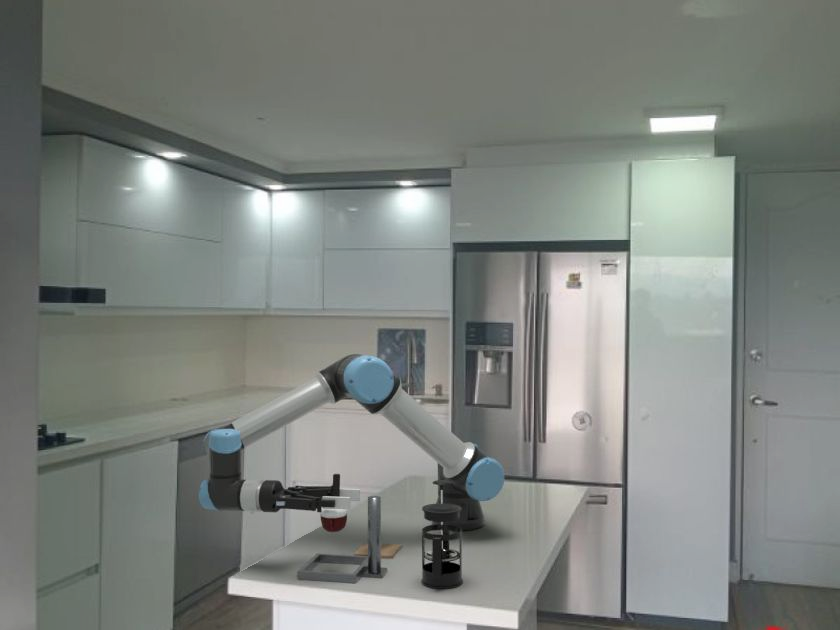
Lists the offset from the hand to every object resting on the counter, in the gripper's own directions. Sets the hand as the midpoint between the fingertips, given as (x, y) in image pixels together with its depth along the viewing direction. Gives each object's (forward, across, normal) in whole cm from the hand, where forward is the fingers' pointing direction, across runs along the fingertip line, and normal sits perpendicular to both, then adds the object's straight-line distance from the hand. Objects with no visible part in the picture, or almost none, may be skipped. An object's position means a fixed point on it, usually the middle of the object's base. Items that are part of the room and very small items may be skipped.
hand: (354, 499), depth 186 cm
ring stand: (-2, 0, -17) cm, 17 cm away
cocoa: (-5, +1, -7) cm, 9 cm away
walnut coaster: (+1, -17, -18) cm, 24 cm away
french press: (+21, +3, -18) cm, 28 cm away
